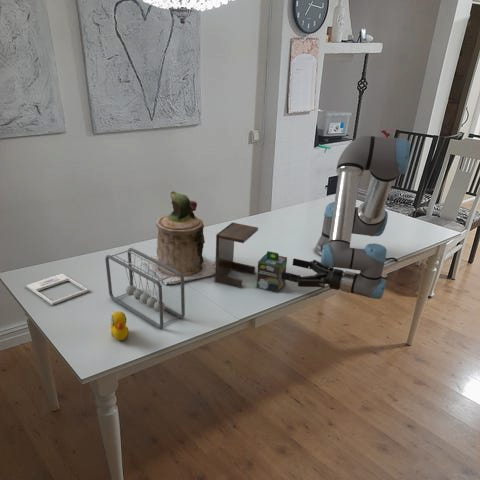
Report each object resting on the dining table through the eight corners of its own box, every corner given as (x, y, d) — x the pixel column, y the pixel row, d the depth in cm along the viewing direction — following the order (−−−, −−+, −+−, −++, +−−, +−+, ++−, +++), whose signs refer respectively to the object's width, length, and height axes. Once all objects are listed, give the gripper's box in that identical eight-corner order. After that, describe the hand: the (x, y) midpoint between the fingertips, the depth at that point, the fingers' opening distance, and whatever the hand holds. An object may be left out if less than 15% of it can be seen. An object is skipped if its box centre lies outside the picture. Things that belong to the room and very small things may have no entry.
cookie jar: (166, 287, 180) (162, 206, 163) (141, 262, 197) (136, 187, 180) (221, 274, 192) (223, 198, 175) (193, 252, 209) (193, 180, 192)
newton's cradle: (109, 298, 171) (104, 253, 161) (132, 289, 177) (129, 245, 168) (161, 331, 154) (159, 283, 145) (185, 319, 161) (184, 273, 152)
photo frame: (62, 272, 183) (88, 288, 173) (62, 275, 184) (88, 291, 174) (26, 284, 174) (51, 302, 164) (26, 287, 174) (52, 305, 164)
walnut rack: (254, 273, 195) (258, 227, 184) (240, 288, 183) (243, 240, 172) (230, 267, 198) (232, 222, 187) (215, 281, 186) (216, 234, 176)
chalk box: (285, 283, 188) (289, 249, 180) (277, 293, 181) (281, 258, 173) (263, 278, 191) (266, 244, 183) (255, 287, 184) (258, 253, 176)
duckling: (131, 346, 146) (129, 319, 141) (114, 349, 144) (111, 322, 139) (126, 327, 155) (124, 301, 150) (109, 329, 153) (106, 303, 148)
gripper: (332, 304, 164) (275, 290, 171) (347, 276, 184) (296, 264, 191) (335, 285, 161) (277, 272, 167) (350, 259, 180) (298, 247, 187)
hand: (287, 268), depth 179 cm, fingers open, 13 cm apart
